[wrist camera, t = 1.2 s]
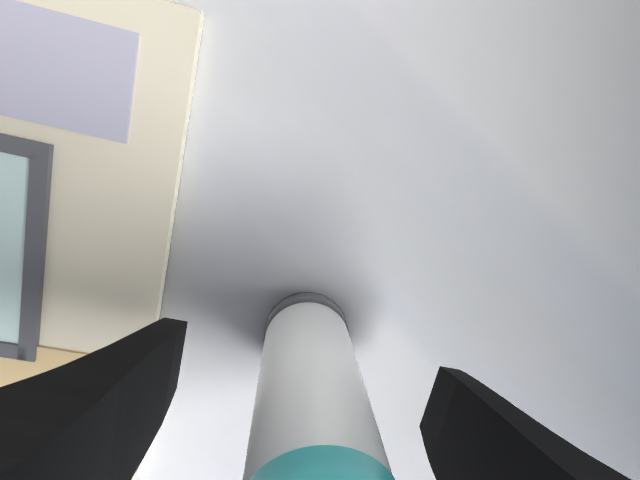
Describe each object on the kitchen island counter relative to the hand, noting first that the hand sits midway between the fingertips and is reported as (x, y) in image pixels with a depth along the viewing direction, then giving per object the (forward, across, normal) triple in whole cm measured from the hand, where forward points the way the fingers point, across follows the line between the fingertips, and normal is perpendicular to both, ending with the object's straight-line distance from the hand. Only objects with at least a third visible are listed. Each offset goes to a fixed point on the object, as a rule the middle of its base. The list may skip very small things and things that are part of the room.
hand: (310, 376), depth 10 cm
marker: (+3, 0, 0) cm, 3 cm away
